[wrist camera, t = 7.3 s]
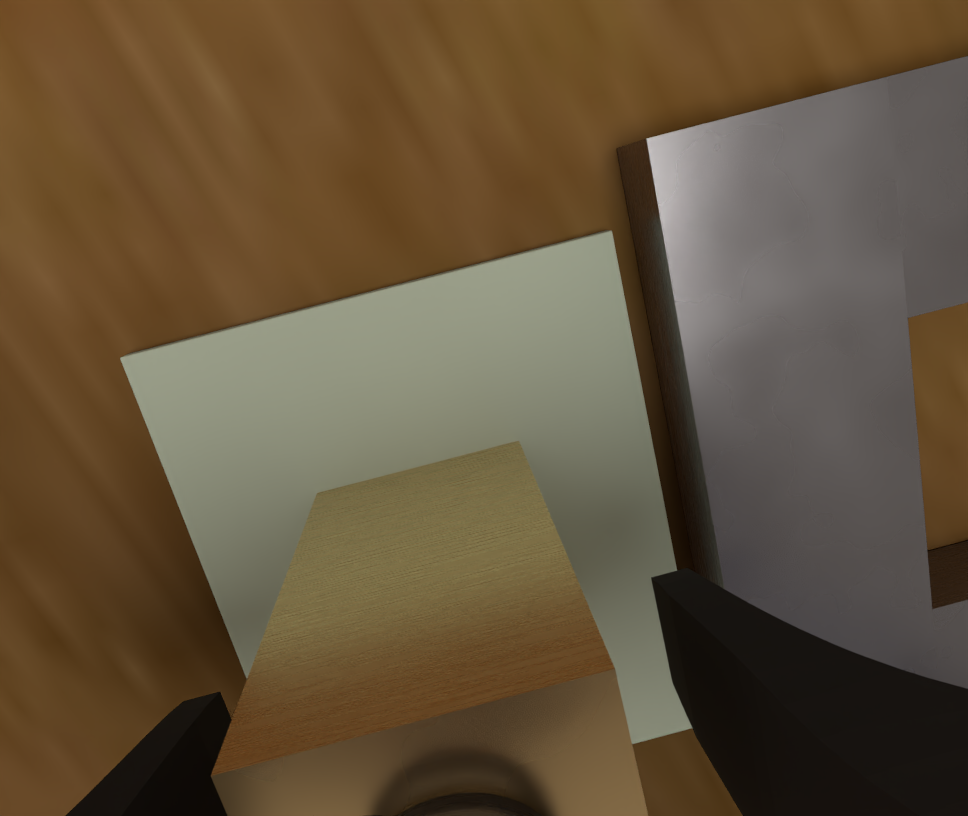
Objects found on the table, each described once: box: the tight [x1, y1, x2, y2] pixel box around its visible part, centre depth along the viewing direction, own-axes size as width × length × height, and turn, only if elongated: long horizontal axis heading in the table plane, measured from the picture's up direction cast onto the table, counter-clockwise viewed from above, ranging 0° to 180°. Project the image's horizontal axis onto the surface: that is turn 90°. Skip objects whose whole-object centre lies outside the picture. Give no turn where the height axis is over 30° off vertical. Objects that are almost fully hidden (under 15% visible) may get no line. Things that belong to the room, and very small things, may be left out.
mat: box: [120, 230, 692, 744], centre depth 16 cm, size 12×10×1 cm
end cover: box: [211, 441, 648, 816], centre depth 12 cm, size 4×4×9 cm
